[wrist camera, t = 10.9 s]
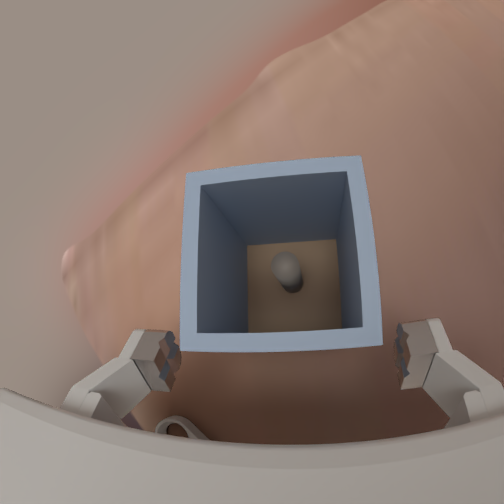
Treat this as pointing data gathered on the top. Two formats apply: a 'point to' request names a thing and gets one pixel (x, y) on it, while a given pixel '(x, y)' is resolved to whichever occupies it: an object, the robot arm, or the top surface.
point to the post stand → (293, 287)
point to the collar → (270, 232)
